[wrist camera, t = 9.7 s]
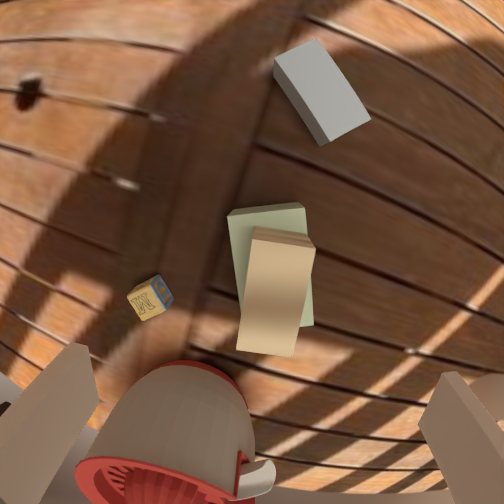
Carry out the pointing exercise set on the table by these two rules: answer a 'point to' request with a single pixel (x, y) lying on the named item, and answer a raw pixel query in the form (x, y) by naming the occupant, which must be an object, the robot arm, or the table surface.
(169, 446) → the citrus juicer
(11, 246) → the table surface
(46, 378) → the robot arm
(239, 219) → the sage brick
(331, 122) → the slate brick
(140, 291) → the alphabet block
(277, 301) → the maple brick
